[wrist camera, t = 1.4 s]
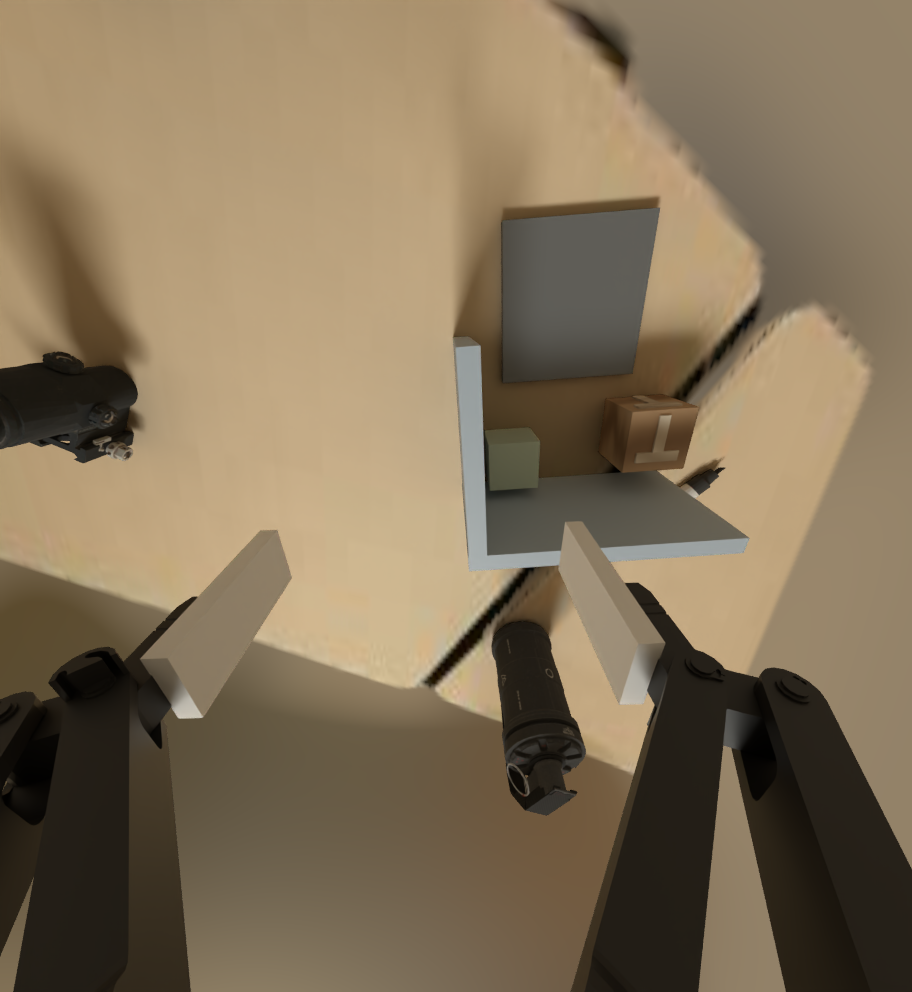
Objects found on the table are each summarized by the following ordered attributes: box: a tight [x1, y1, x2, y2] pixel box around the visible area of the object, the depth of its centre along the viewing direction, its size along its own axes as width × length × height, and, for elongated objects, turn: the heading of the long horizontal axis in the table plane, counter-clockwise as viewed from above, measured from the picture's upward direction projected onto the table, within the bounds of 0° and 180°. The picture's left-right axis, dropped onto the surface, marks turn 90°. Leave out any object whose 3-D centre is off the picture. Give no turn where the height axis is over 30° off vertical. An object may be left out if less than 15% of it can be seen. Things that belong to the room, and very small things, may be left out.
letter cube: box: [598, 394, 699, 473], centre depth 34 cm, size 6×6×6 cm
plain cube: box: [484, 427, 540, 491], centre depth 36 cm, size 5×5×5 cm
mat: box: [501, 208, 660, 383], centre depth 31 cm, size 13×13×1 cm
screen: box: [453, 336, 749, 571], centre depth 30 cm, size 17×23×14 cm
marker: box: [680, 468, 725, 498], centre depth 41 cm, size 15×2×2 cm, turn 137°
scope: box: [0, 352, 138, 463], centre depth 28 cm, size 8×14×10 cm
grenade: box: [492, 622, 586, 815], centre depth 44 cm, size 9×11×20 cm
